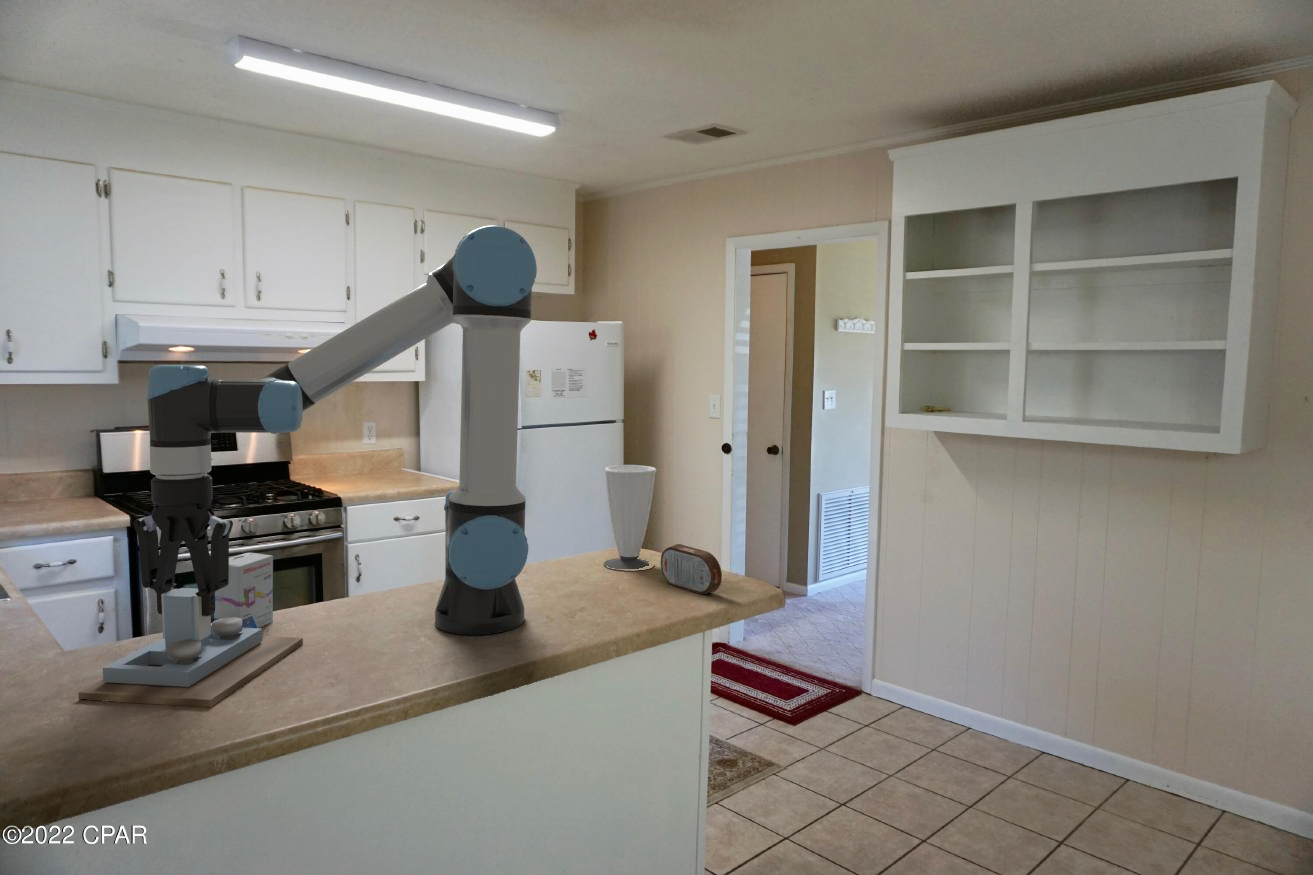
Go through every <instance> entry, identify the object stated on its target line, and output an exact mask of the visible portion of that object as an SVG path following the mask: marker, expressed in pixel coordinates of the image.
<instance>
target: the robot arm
mask: <svg viewBox="0 0 1313 875" xmlns="http://www.w3.org/2000/svg"><path fill="white" fill-rule="evenodd" d="M456 246H457V247H456V248H455V251H454V255H453V256H452V257H450V258H449V259H448V260H447V261H446V262H445V263H444V264H442V265H441V266H439V267H438V268H436V269H435V270H432V271H431V272H429V273H428V275H427V279H426V282H425V283H423V284H421V285H420V286H417V287H416V288H415V289H413V290H411V291H409V292H408V293H406V294H404V295H403V296H401V297H399V298H397V299H396V300H394V301H392V302H390V303H389V304H387V305H386V306H384V307H382V308H380V309H379V310H377V311H375V312H373V313H372V314H370V315H368V316H366V317H365V318H364V319H361V320H360V321H358V322H356V323H354V324H353V325H351V326H350V327H348V328H346V329H344V330H342V331H341V332H339V333H337V334H336V335H334V336H333V337H330V338H329V339H327V340H325V341H324V342H322V343H321V344H319V345H317V346H315V347H314V348H312V349H310V350H308V351H306V352H305V353H303V354H301V355H300V356H298V357H296V358H294V359H293V360H292V361H289V362H288V363H286V364H285V365H283V366H281V367H279V368H277V369H275V370H274V371H272V372H270V373H269V374H267V375H265V376H263V377H262V378H259V379H234V380H233V379H228V380H227V379H226V380H223V379H216V378H211V375H210V372H209V368H208V367H207V366H205V365H193V364H192V365H191V364H159V365H158V364H157V365H154V366H152V367H151V368H150V369H149V371H148V376H147V377H148V379H147V381H148V382H147V396H146V401H147V410H148V411H147V412H148V414H147V415H148V429H149V430H148V431H149V473H150V474H152V475H154V476H155V477H153V478H152V479H151V480H150V487H151V488H150V489H151V491H150V493H151V494H150V495H151V496H150V497H151V502H152V504H154V507H153V510H152V511H151V515H148V516H144V517H141V518H137V519H135V520H133V521H132V522H133V527H134V529H135V532H136V534H137V536H138V537H137V538H138V549H139V550H138V551H139V561H140V562H139V563H140V565H139V566H140V576H141V578H140V579H141V585H142V586H141V587H143V588H145V589H152V590H153V591H154V592H155V593H156V610H157V613H158V614H159V615H161V616H162V617H161V619H162V620H161V622H162V638H163V639H165V621H164V595H167V594H169V593H171V592H173V591H176V590H178V589H179V588H175V587H176V586H177V583H175V577H176V571H177V570H176V569H177V565H178V558H179V552H180V546H181V544H182V542H184V546H185V548H186V549H187V550H188V552H189V556H190V561H191V565H192V569H193V573H194V578H195V582H196V586H197V587H196V588H197V589H198V591H199V592H197V593H195V595H193V602H194V631H195V640H199V641H200V640H202V639H204V638H205V637H207V636H209V635H211V626H212V620H211V619H212V618H211V617H212V616H211V615H213V614H214V612H215V592H216V591H217V590H219V589H221V588H223V587H226V586H227V585H228V583H229V558H230V533H231V531H232V529H233V526H234V522H233V520H232V519H225V520H224V519H222V518H219V517H217V516H216V515H215V511H214V510H213V508H212V501H213V498H214V497H213V496H214V495H213V477H212V476H211V475H210V474H208V473H210V472H211V471H212V443H211V442H212V439H211V436H212V433H217V434H218V433H219V434H221V433H247V434H248V433H249V434H251V433H256V434H259V433H263V434H264V433H266V434H268V433H269V434H274V435H276V434H280V433H281V434H282V433H293V432H296V431H298V430H299V429H300V428H301V426H302V421H303V415H304V414H303V412H304V411H306V410H308V409H309V408H311V407H313V406H314V405H316V404H317V403H319V402H320V401H322V400H324V399H326V398H329V396H331V395H333V394H334V393H336V392H338V391H340V390H342V388H344V387H346V386H348V385H350V384H351V383H354V381H356V380H358V379H360V378H361V377H363V376H365V375H366V374H368V373H369V372H371V371H373V370H376V369H377V368H378V367H380V366H382V365H383V364H385V363H387V362H388V361H390V360H392V359H393V358H395V357H397V356H399V355H400V354H402V353H404V352H406V350H409V349H410V348H412V347H414V346H416V345H418V344H419V343H421V342H423V341H424V340H426V339H427V338H429V337H431V336H432V335H434V334H435V333H438V332H439V331H440V330H443V329H444V328H446V327H447V326H449V325H451V324H456V325H460V326H461V329H462V344H461V345H462V348H461V350H462V352H461V353H462V355H461V394H460V397H461V398H460V438H459V440H460V441H459V486H457V488H456V490H450V491H448V492H447V494H445V495H446V496H445V499H444V500H445V503H444V505H443V510H444V516H445V517H444V519H445V520H444V521H445V522H444V523H445V525H444V532H445V536H444V537H445V538H444V540H445V541H444V542H445V543H444V544H445V545H444V546H445V547H444V548H445V549H444V550H445V551H444V552H445V554H444V555H445V556H444V557H445V558H444V559H445V560H444V561H445V563H444V564H445V565H444V566H445V569H444V570H445V571H444V572H445V577H444V578H445V579H444V581H443V582H444V583H443V585H442V588H441V590H440V594H439V597H438V601H437V603H436V606H435V609H434V624H435V626H436V627H437V628H438V629H440V630H442V631H443V632H446V633H451V634H457V635H465V636H466V635H468V636H470V635H471V636H475V635H476V636H480V635H481V636H482V635H491V634H498V633H504V632H507V631H511V630H513V629H515V628H518V627H520V626H521V625H522V624H523V623H524V621H525V604H524V601H523V598H522V595H521V592H520V589H519V587H518V584H517V580H516V578H517V577H518V576H519V575H520V573H521V572H522V571H523V569H524V567H525V565H526V562H527V560H528V554H529V543H528V538H527V536H526V534H525V532H526V530H525V529H526V496H525V495H524V493H522V492H521V491H520V490H519V489H518V487H517V467H518V466H517V464H518V463H517V462H518V429H519V428H518V427H519V400H520V398H519V393H520V390H519V389H520V365H521V364H520V361H521V360H520V359H521V332H522V330H523V329H524V328H525V327H526V326H527V325H528V324H530V322H531V321H532V314H531V313H532V297H533V296H532V294H533V293H532V291H533V286H534V284H535V283H536V282H535V281H536V277H537V274H538V273H537V271H538V268H537V261H536V257H535V254H534V251H533V249H532V247H531V245H530V244H529V243H528V241H527V240H526V239H525V238H524V236H522V235H521V234H520V233H518V232H516V231H515V230H513V229H510V228H508V227H506V226H501V225H484V226H482V227H478V228H475V229H473V230H472V231H471V230H470V232H468V233H467V234H465V236H463V237H462V238H461V240H460V241H459V243H458V244H457V245H456ZM209 527H210V529H209V533H210V534H211V537H210V550H209V545H208V543H209V536H208V532H207V530H208V528H209ZM157 528H158V529H159V531H160V537H159V534H158V530H157ZM172 588H173V589H172Z"/></svg>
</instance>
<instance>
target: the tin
mask: <svg viewBox="0 0 1313 875" xmlns="http://www.w3.org/2000/svg"><path fill="white" fill-rule="evenodd" d="M660 569H661V573H662V575H663V578H664V579H665V580H666V582H668V584H670V585H672V586H673V585H674V586H673V587H676V588H679V587H680V589H683V590H686V591H690V592H692V593H695V594H699V595H706V594H710V593H713V592H716V591H717V590H718V589H719V588H720V586H721V584H722V580H723V578H722V577H723V575H722V568H721V566H720V563H719V561H718V559H717V558H716V557H715V555H714V554H712V553H711V552H709V551H708V550H703V549H699V548H695V547H693V546H689V545H684V544H682V543H679V544H678V543H677V544H674V545H671V546H669V547H666V548H665V549H664V550H663V551H662V553H661V556H660Z"/></svg>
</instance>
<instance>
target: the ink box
mask: <svg viewBox="0 0 1313 875" xmlns="http://www.w3.org/2000/svg"><path fill="white" fill-rule="evenodd" d="M273 572H274V556H273V555H270V554H264V553H256V552H245V553H242V554H237V555H235V556H231V557H229V583H228V585H227V586H226V587H223V588H221V589H219V590H217V591H216V592H215V612H214V615H213V616H214V617H213V618H214V619H213V620H214V621H215V620H218V619H222V618H229V617H236V618H241V619H242V628H262V627H264V626H266V625H269V624H271V623H273V621H274V614H273V613H274V612H273V611H274V609H273V608H274V606H273V605H274V602H273V601H274V600H273V598H274V597H273V596H274V592H273V591H274V590H273V587H274V585H273V584H274V583H273V582H274V573H273Z"/></svg>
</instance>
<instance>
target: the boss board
mask: <svg viewBox="0 0 1313 875" xmlns="http://www.w3.org/2000/svg"><path fill="white" fill-rule="evenodd" d="M211 626H212V634H213V635H217V636H220V639H221V640H233V639H235V634H237V633H239V632H241V631H242V619H241V618H236V617H229V618H222V619H218V620H215V621H211ZM262 639H263V641H262V642H260V643H259V644H257V645H256V646H254V647H252V648H251V649H249V650H247V651H246V652H244V653H243V654H241V655H239V656H238V657H236V658H235V659H233V660H231V661H230V662H228V663H226V664H225V665H223V666H222V667H220V668H218V669H217V670H215V671H213V672H212V673H210V674H209V675H207V676H205V677H204V678H202V679H201V680H199V681H197V682H196V683H194V684H192V685H191V686H189V687H183V686H165V685H147V684H129V683H111V682H103V679H102V680H100V681H97V682H96V683H94V684H92V685H89V686H87V687H86V688H85V689H82V690H80V691H79V692H78V700H79V699H87V700H86V701H91V700H104V701H103V702H109V701H113V702H112V703H114V701H116V702H115V703H127V704H129V703H131V704H146V705H147V704H149V705H162V706H163V705H164V706H165V705H166V706H181V707H199V708H200V707H201V708H212V707H214V706H215V705H216V704H218V703H219V702H221V701H222V700H224V699H225V698H226V697H228V696H229V695H231V694H232V693H234V692H236V691H237V690H238V689H240V688H241V687H242V686H244V685H245V684H247V683H249V682H250V681H251V680H253V679H254V678H256V677H257V676H259V675H261V673H263V672H264V671H267V669H269V668H270V667H272V666H273V665H275V664H276V663H278V662H279V661H280V660H282V659H283V658H285V657H286V656H288V655H289V654H290V653H291V654H292V653H293V651H295V650H296V649H298V648H300V647H301V646H302V645H304V641H303V640H304V638H303V637H293V636H275V635H274V636H269V635H262ZM199 655H201V641H199V640H193V639H190V640H181V641H177V642H173V643H171V644H169V645H168V658H169V659H171V660H177V664H184V665H190V664H192V663H193V658H195V657H197V656H199ZM148 666H155V667H161V666H163V665H148ZM106 700H107V701H106Z"/></svg>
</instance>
